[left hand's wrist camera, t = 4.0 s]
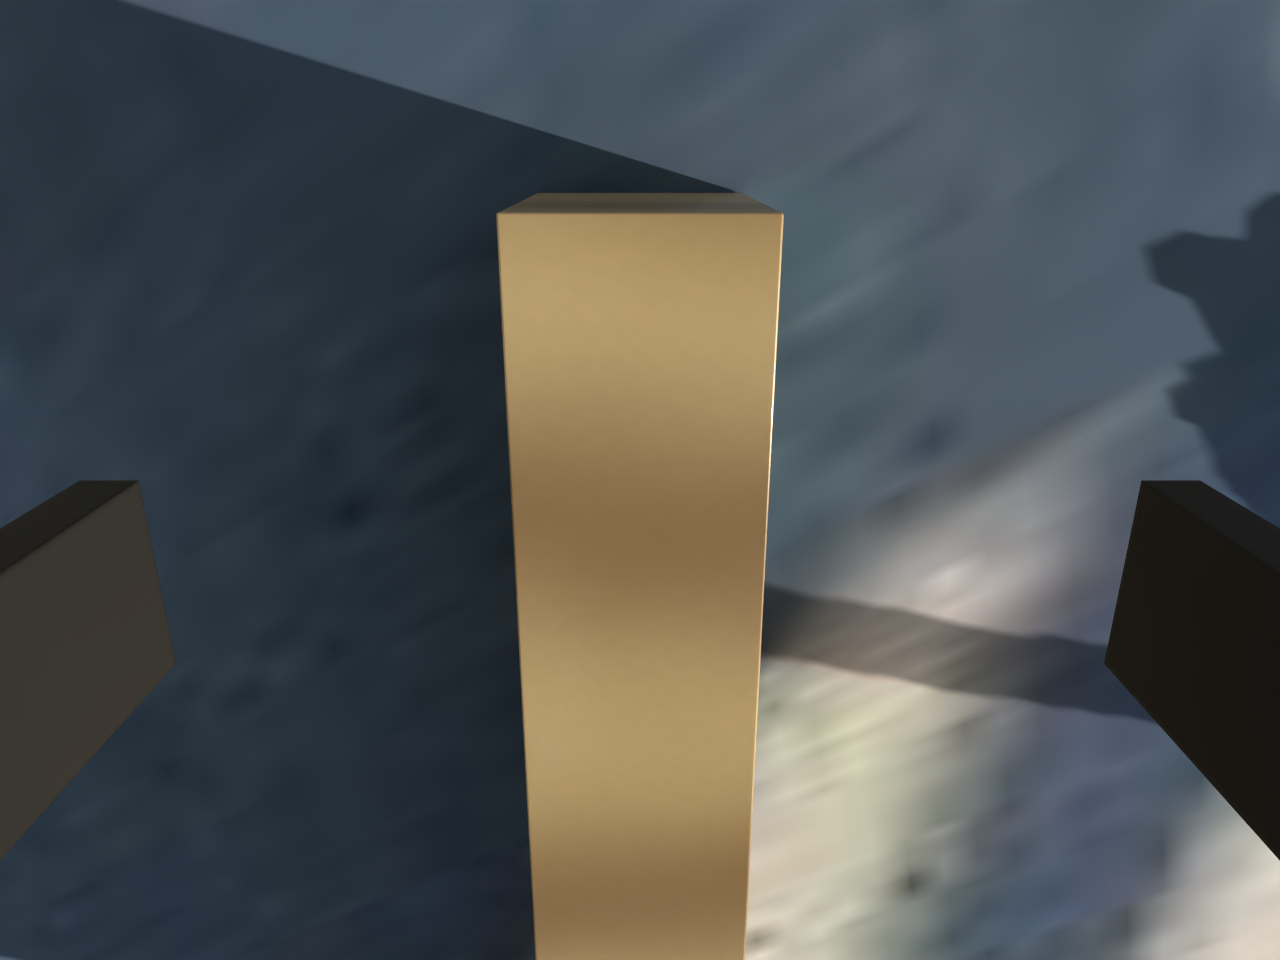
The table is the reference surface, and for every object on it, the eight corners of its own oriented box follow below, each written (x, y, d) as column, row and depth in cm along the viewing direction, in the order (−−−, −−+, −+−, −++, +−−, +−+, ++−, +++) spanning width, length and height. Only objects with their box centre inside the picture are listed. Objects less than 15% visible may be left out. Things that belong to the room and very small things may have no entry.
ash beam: (536, 192, 26) (495, 212, 19) (743, 193, 26) (784, 212, 19) (569, 1075, 39) (552, 1297, 31) (710, 1075, 39) (727, 1297, 31)
